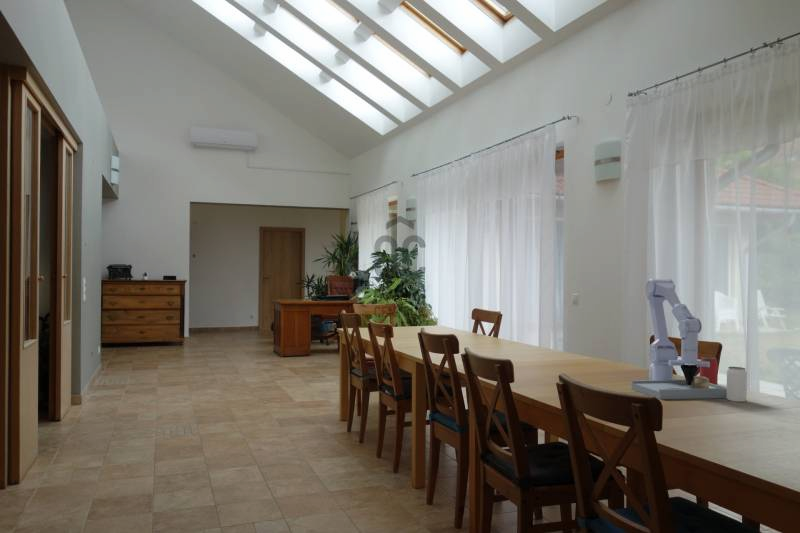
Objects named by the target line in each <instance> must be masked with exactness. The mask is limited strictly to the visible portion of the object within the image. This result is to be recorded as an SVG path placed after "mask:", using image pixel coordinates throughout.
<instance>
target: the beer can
mask: <svg viewBox="0 0 800 533" xmlns="http://www.w3.org/2000/svg"><path fill="white" fill-rule="evenodd" d="M700 358H701V359H700V361H708V362H710V367H700V366H699V376H700V377H706V378H708V379H709V383H712V384H716V385H718V380H719V379H718V377H719V376H718V374H719V373H718V371H719V364H718V360H717V358H716V357H714V356H713V357H712V356H702V357H701V356H700Z"/></svg>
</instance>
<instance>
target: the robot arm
mask: <svg viewBox="0 0 800 533" xmlns="http://www.w3.org/2000/svg"><path fill="white" fill-rule="evenodd" d="M644 289H645V294H646V300H648V302H649V303H648V305H649V310H650V311H649V312H650V316H651V322H652V324H651V325H652V330H653V336H654V341H653V342H652V343H651V344H650V345H649V353H648V354H649V355H648V356H649V360H650V361H651V362H652V363H651V364H650V365H649V369H648V373H649V374H648V380H674V371H673V370H674V366H675V367H676V366H677V367H678V366H679V367H680V369H681V371H682V373H683V376H684V380H686V384H687V385H691V384H692V380H693V377H694V376H695V375H696V373H697V372H698V370H699V368H700V367H710V362H708V361H701V360H698V348H699V347H698V346H699V340H698V339H699V333H700V332H701V331H702V322H701V320H700V319H699V318H697V317H695V316H694V315H693V314H692V313H691V311H690V310H689V308H688V306H687V305H686V304H684V303H681V300H680V299H679V297H678V294H677V293H676V284H675V282H674V281H673V280H672V279H671V278H667V279H662V278H661V279H659V278H649V279H648V280H647V281H646V283H645V288H644ZM665 301H667V302H668V303H669V305H670V306H671V307H672V309H671V313H672V315H673V316H674V318H675V319H676V321H677V322H678V326H677V328H678V331H679V336H680V338H681V343H680V344H681V349H680V350H681V352H680V358H681V359H678V358H679V352H678V351H677V350H678V349H677V348H676V344H675V343H674V342H672V341H671V340H670V339H669V334H668V333H669V332H668V328H667V323H666V322H667V320H666V315H665V310H664V304H663V303H664V302H665ZM698 367H699V368H698Z"/></svg>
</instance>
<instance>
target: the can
mask: <svg viewBox="0 0 800 533" xmlns="http://www.w3.org/2000/svg"><path fill="white" fill-rule="evenodd" d="M727 368H728V369H727V370H726V387H727V395H726V398H725V399H726V400H727V401H729V402H735V403H745V402H746V401H747V390H748V389H747V386H748V384H747V382H748V377H747V375H748V372H747V369H746V367H742V366H741V367H740V366H728V367H727Z"/></svg>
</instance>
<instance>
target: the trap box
mask: <svg viewBox="0 0 800 533" xmlns="http://www.w3.org/2000/svg"><path fill="white" fill-rule="evenodd" d="M631 390H633V391H636V392H639V393H641V394H644V395H648V396H650V395H652V396H651V397H653V396H656V397H658V398H659V399H658V398H657V399H658V400H681V399H682V400H683V399H684V400H685V399H686V400H687V399H688V400H689V399H690V400H691V399H727V398H726V395H727V386H722V385H719V384H717V385H716V384H712V383H709V388H697V389H694V388H693V387H691V385H687V384H686V380H685V379H673V380H649V379H641V380H639V379H637V380H636V379H633V380H631Z"/></svg>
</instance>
